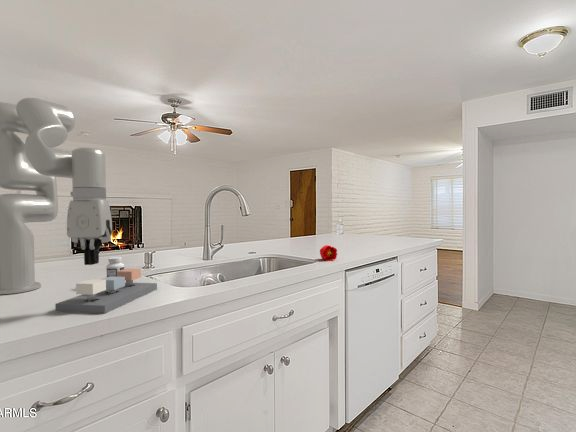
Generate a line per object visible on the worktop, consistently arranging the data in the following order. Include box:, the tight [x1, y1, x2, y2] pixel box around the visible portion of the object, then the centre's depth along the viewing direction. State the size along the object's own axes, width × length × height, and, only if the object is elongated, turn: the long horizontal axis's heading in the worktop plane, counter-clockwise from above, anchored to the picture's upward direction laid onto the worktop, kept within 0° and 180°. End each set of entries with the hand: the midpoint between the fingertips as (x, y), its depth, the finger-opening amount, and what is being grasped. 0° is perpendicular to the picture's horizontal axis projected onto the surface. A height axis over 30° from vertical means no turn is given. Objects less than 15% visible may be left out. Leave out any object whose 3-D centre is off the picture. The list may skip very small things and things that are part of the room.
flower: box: [319, 244, 338, 262], centre depth 160 cm, size 8×8×8 cm
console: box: [54, 281, 158, 314], centre depth 91 cm, size 14×24×2 cm, turn 172°
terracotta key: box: [117, 268, 142, 286], centre depth 99 cm, size 5×5×5 cm
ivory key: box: [75, 279, 106, 301], centre depth 83 cm, size 5×5×5 cm
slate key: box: [99, 276, 126, 294], centre depth 91 cm, size 5×5×5 cm
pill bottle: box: [106, 256, 125, 278], centre depth 108 cm, size 5×5×10 cm
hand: (91, 263), depth 83 cm, fingers closed
